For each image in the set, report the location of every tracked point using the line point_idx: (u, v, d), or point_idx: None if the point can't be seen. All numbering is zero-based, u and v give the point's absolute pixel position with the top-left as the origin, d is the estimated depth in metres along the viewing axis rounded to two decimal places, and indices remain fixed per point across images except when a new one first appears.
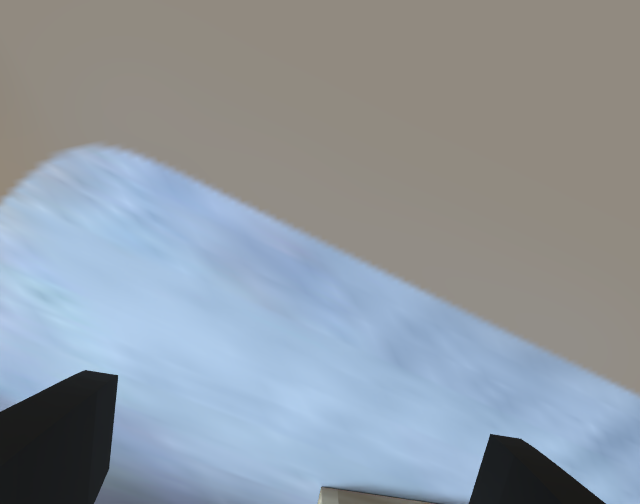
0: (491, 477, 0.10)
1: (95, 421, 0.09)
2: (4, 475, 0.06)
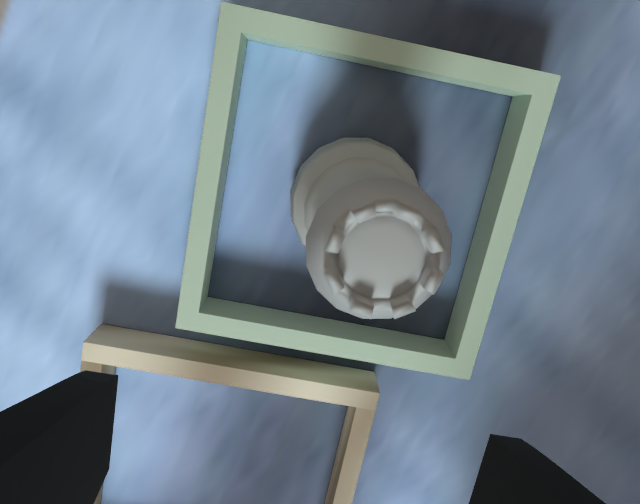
0: (491, 476, 0.10)
1: (95, 421, 0.09)
2: (4, 475, 0.06)
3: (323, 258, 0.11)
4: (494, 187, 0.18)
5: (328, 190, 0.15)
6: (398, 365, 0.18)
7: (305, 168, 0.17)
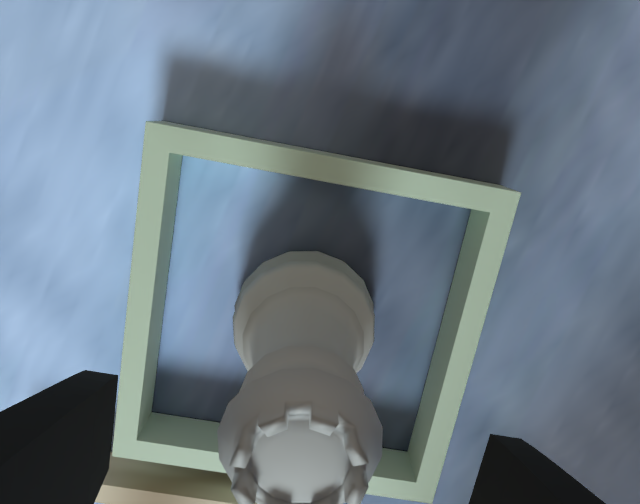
0: (491, 477, 0.10)
1: (95, 421, 0.09)
2: (4, 475, 0.06)
3: None
4: (454, 301, 0.16)
5: (263, 331, 0.13)
6: None
7: (246, 291, 0.15)
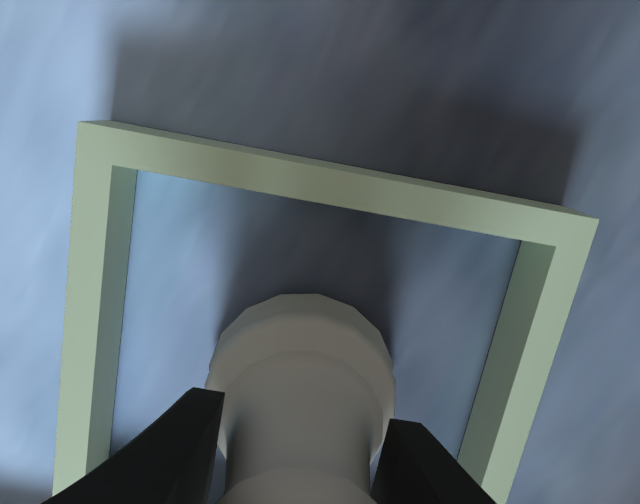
0: (387, 461, 0.09)
1: (213, 439, 0.09)
2: (170, 499, 0.06)
3: None
4: (500, 359, 0.12)
5: (242, 421, 0.09)
6: None
7: (222, 351, 0.11)
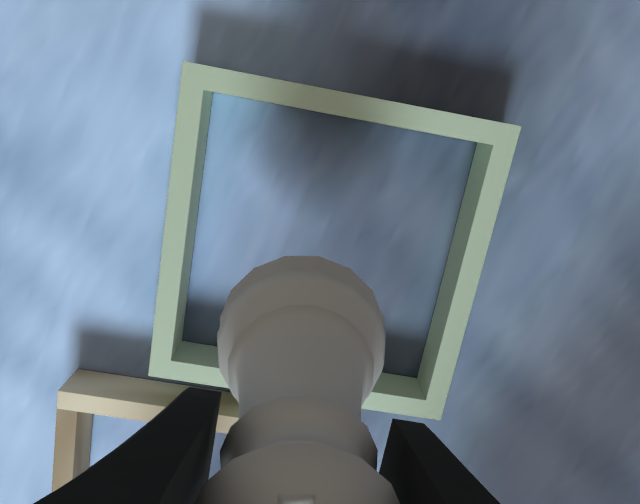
0: (390, 461, 0.09)
1: (209, 438, 0.09)
2: (165, 498, 0.06)
3: None
4: (460, 232, 0.18)
5: (252, 363, 0.11)
6: (369, 407, 0.18)
7: (232, 305, 0.13)
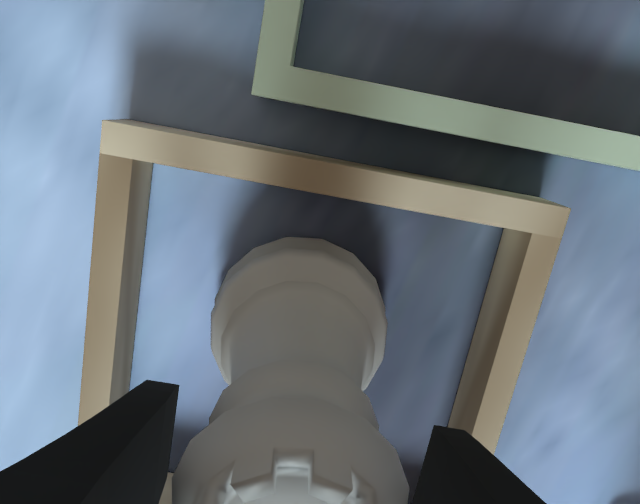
0: (433, 468, 0.09)
1: (162, 431, 0.09)
2: (99, 489, 0.06)
3: None
4: None
5: (248, 335, 0.10)
6: (604, 159, 0.11)
7: (230, 281, 0.12)
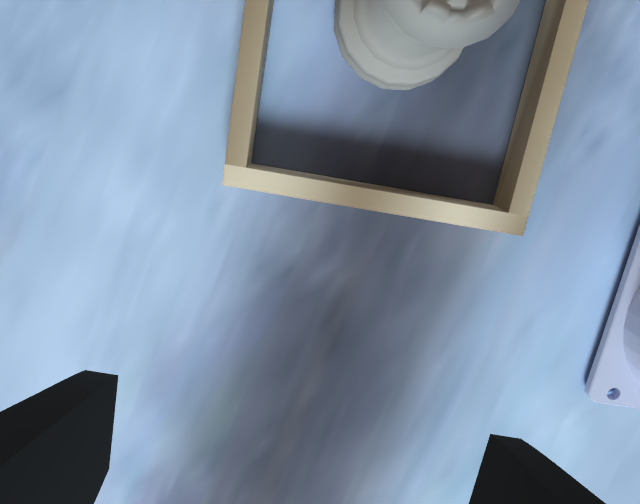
0: (491, 477, 0.10)
1: (95, 421, 0.09)
2: (4, 475, 0.06)
3: None
4: None
5: None
6: None
7: None
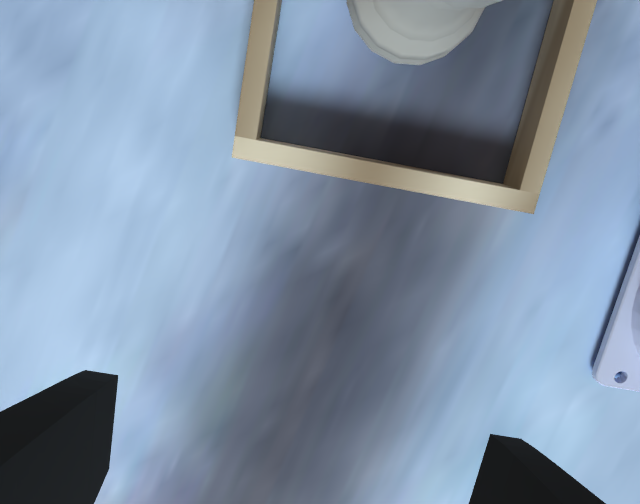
0: (491, 476, 0.10)
1: (95, 421, 0.09)
2: (4, 475, 0.06)
3: None
4: None
5: None
6: None
7: None
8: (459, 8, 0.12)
